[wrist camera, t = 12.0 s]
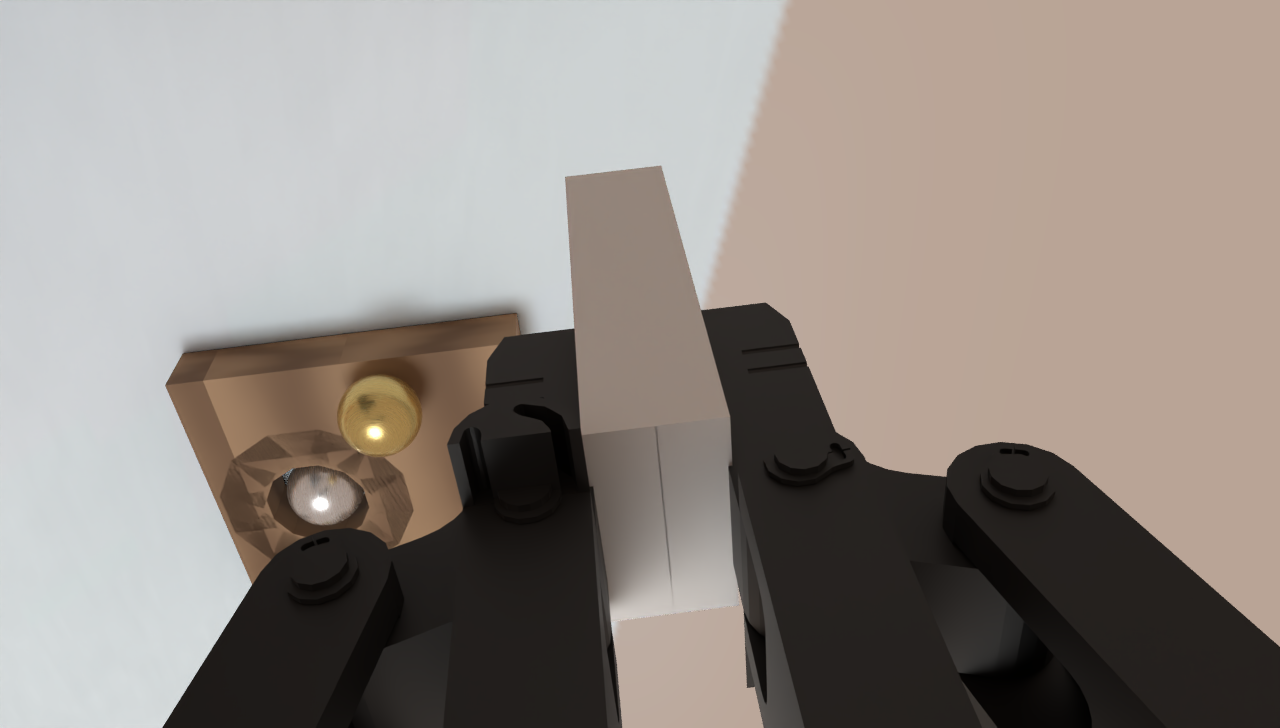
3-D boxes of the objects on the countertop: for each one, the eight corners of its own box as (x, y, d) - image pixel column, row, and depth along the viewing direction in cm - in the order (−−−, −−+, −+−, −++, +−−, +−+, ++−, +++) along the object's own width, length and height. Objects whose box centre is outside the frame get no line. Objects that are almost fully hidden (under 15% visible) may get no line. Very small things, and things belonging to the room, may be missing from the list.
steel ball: (291, 546, 46) (368, 534, 46) (273, 486, 44) (353, 474, 45) (300, 500, 49) (372, 489, 49) (284, 442, 47) (358, 432, 48)
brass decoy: (355, 428, 44) (342, 478, 41) (335, 363, 42) (320, 411, 39) (433, 418, 44) (426, 468, 41) (416, 353, 42) (407, 401, 39)
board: (280, 588, 52) (270, 624, 50) (182, 353, 44) (165, 385, 42) (560, 552, 53) (561, 587, 51) (516, 313, 44) (515, 342, 42)
